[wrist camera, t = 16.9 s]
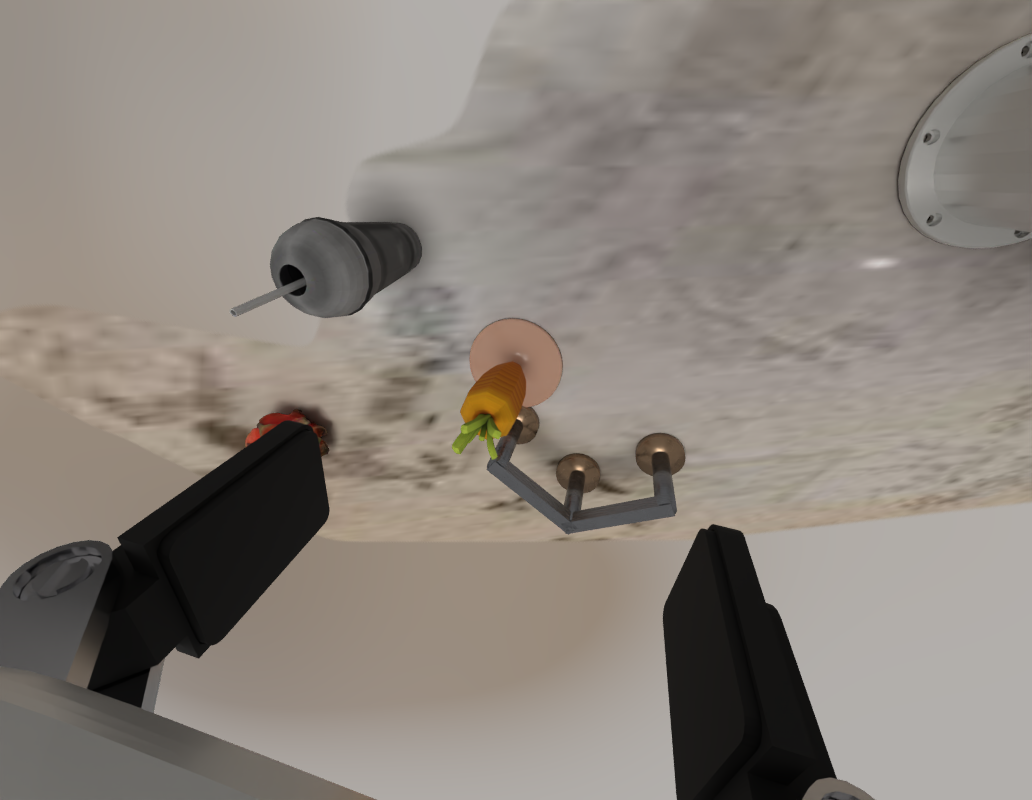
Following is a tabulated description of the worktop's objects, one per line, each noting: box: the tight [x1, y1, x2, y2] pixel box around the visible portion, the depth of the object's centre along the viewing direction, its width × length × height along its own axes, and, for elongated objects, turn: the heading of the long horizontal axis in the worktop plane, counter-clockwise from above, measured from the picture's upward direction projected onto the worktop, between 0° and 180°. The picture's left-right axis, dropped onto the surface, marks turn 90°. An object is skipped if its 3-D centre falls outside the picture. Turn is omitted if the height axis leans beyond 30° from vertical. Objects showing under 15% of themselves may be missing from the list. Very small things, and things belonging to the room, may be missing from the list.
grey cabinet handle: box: [487, 406, 685, 535], centre depth 43 cm, size 21×10×9 cm, turn 84°
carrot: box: [452, 361, 526, 460], centre depth 37 cm, size 5×5×15 cm
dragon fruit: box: [245, 409, 329, 457], centre depth 53 cm, size 8×8×12 cm
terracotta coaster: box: [470, 318, 563, 407], centre depth 44 cm, size 10×10×1 cm
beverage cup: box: [230, 217, 422, 318], centre depth 32 cm, size 7×7×20 cm
